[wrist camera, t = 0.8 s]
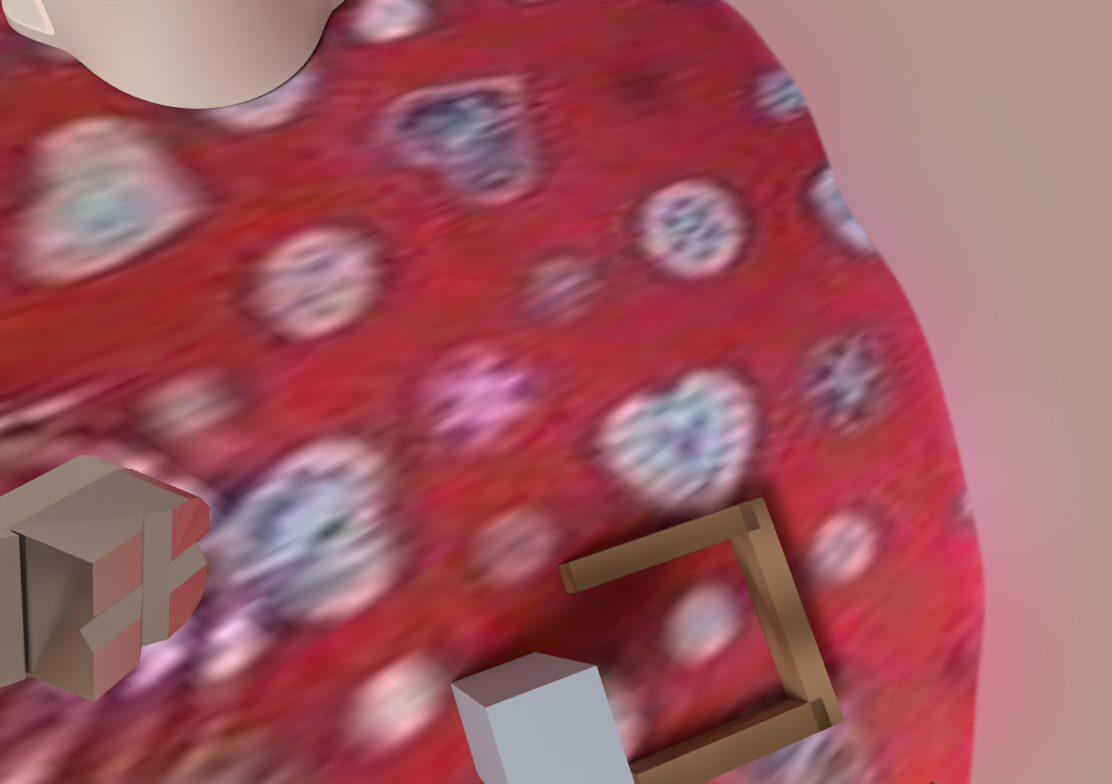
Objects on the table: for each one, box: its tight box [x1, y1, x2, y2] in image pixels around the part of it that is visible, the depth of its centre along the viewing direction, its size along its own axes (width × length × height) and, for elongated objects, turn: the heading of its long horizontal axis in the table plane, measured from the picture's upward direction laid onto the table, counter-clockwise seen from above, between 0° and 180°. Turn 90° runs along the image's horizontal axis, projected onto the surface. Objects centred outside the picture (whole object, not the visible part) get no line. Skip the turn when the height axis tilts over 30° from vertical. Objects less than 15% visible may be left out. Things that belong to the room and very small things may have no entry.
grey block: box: [451, 652, 635, 784], centre depth 39 cm, size 4×4×12 cm
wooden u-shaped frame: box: [557, 497, 845, 784], centre depth 47 cm, size 12×11×2 cm
